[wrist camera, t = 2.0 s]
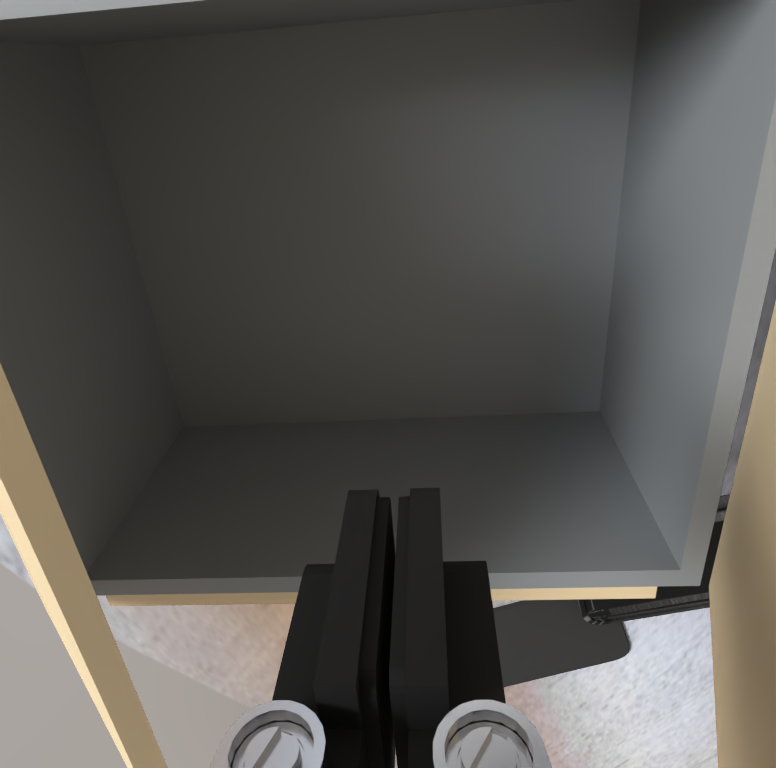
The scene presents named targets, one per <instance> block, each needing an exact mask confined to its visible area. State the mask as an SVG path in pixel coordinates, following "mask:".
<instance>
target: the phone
mask: <svg viewBox="0 0 776 768" xmlns="http://www.w3.org/2000/svg"><path fill="white" fill-rule="evenodd" d="M493 612H494V620H495V627H496V635H497V642H498V650H499V657H500V665H501V672H502V680H503V687H506V686H510V685H515V684H519V683H523V682H527V681H531V680H535V679H539V678H544V677H548V676H552V675H556V674H560V673H564V672H569V671H573V670H577V669H581V668H585V667H589V666H593V665H598V664H602V663H606V662H610V661H614V660H617V659H620V658H622V657H624V656H625V655H626V654H627V653H628V652H629V649H630V645H629V642H628V639H627V636H626V633H625V631H624V628H623V625H622V622H616V623H610V624H603V625H595V624H591V623H588V622H586V621H585V620H584V619H583V617H582V614H581V611H580V607H579V603H578V599H572V600H523V601H519V602H516V603H512V604H508V605H504V606H500V607H496V608H493Z"/></svg>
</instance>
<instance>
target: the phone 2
mask: <svg viewBox="0 0 776 768" xmlns="http://www.w3.org/2000/svg"><path fill="white" fill-rule="evenodd" d="M729 498H730V494H729V495H724V496H720V499H719V503H718V508H717V512H716V516H715V521H714V525H713V530H712V534H711V539H710V543H709V548H708V552H707V557H706V561H705V565H704V570H703V574H702V579H701V583H700V586H657V591H656V597H655V598H641V599H578V603H579V607H580V611H581V614H582V617H583V619H584V620H585V621H586V622H588V623H591V624H595V625H603V624H610V623H616V622H622V621H628V620H634V619H640V618H646V617H653V616H659V615H665V614H671V613H677V612H683V611H690V610H696V609H702V608H708V607H710V598H709V583H710V579H711V575H712V570H713V566H714V562H715V558H716V553H717V549H718V545H719V541H720V536H721V532H722V528H723V523H724V519H725V515H726V511H727V506H728V502H729Z"/></svg>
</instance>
